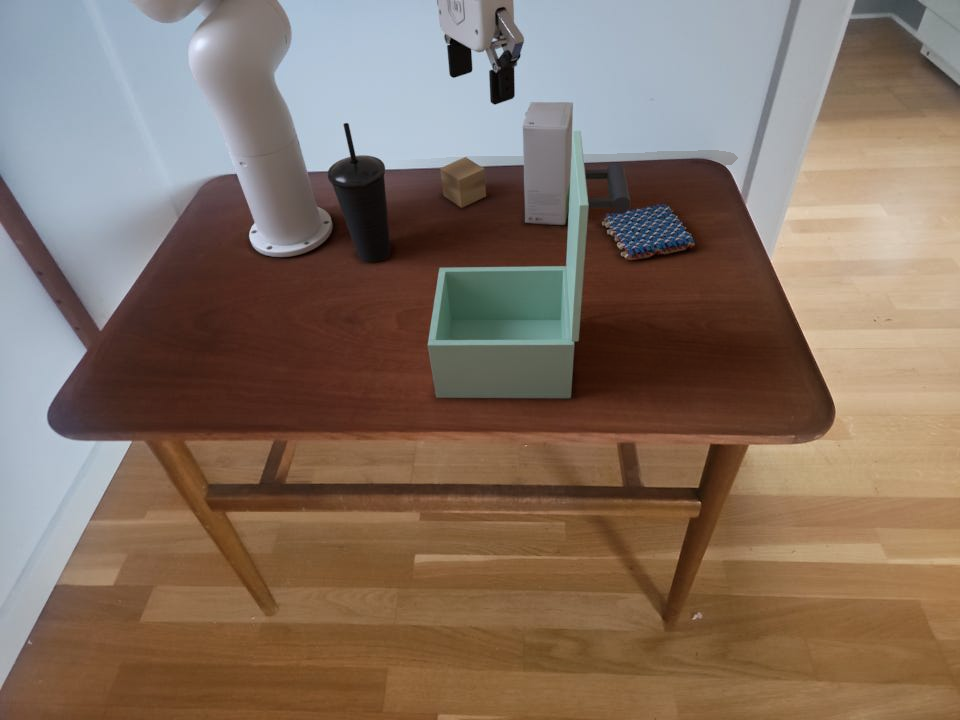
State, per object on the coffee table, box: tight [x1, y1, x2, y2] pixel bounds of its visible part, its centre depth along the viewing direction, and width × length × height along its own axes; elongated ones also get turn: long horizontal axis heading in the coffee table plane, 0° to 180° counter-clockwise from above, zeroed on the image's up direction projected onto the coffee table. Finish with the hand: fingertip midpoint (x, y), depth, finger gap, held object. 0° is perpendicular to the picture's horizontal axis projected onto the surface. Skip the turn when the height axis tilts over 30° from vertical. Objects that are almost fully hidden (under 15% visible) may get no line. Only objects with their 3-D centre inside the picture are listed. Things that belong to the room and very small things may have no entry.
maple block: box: [439, 156, 487, 209], centre depth 103 cm, size 5×5×5 cm
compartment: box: [427, 265, 575, 399], centre depth 76 cm, size 16×13×9 cm
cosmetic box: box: [522, 101, 574, 226], centre depth 95 cm, size 8×7×16 cm
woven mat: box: [601, 203, 696, 261], centre depth 93 cm, size 10×11×2 cm
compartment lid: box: [565, 130, 632, 342], centre depth 66 cm, size 17×13×5 cm
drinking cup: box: [327, 122, 391, 264], centre depth 88 cm, size 8×8×20 cm
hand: (481, 87), depth 81 cm, fingers open, 9 cm apart
